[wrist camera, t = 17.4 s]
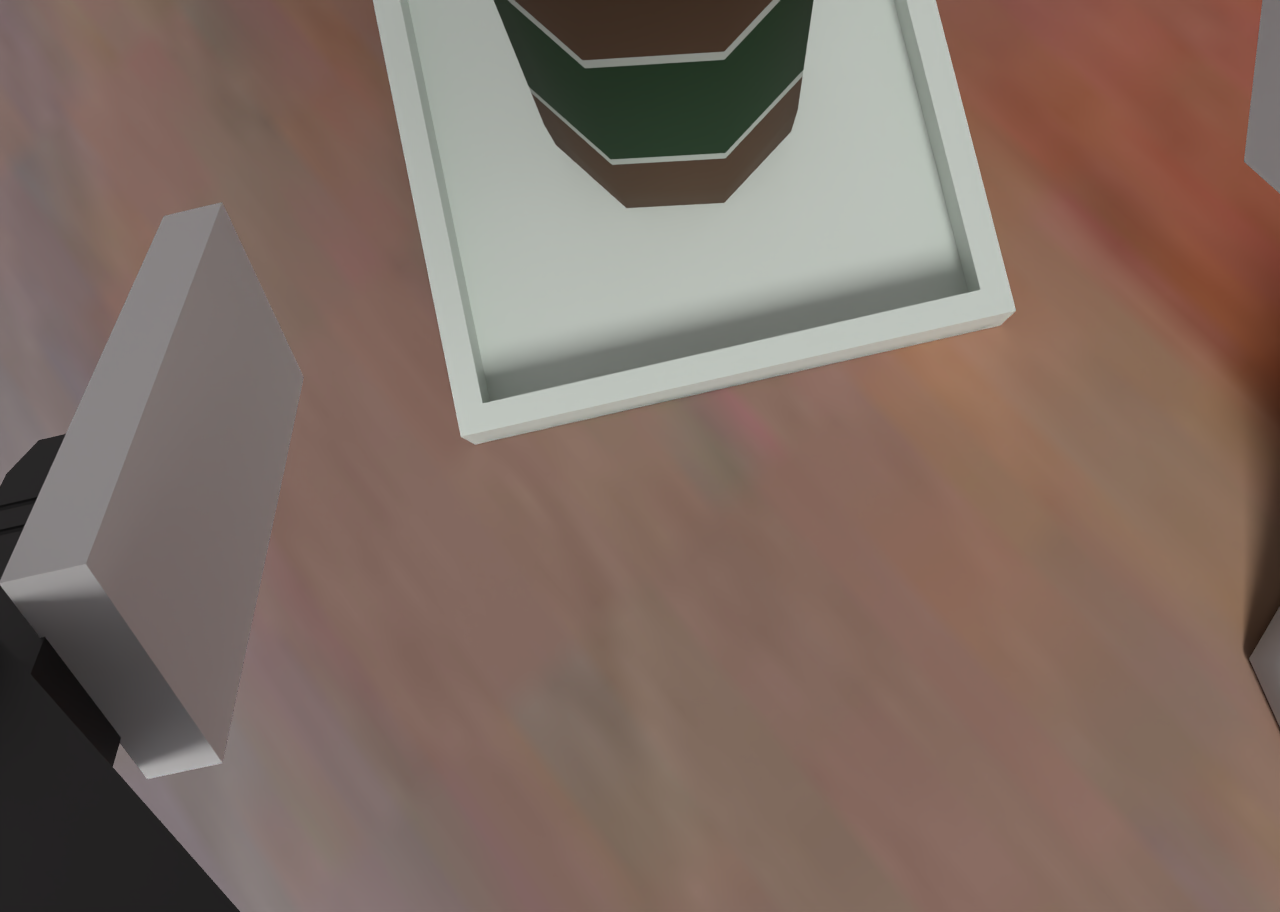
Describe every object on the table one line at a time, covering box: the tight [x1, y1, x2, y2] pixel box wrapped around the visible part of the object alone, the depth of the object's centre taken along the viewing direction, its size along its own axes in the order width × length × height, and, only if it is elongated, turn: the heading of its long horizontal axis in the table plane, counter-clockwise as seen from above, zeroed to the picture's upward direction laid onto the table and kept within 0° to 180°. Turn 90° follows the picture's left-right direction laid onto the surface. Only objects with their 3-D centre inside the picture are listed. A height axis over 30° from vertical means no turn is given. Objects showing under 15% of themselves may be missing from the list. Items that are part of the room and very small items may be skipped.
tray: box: [373, 0, 1016, 444], centre depth 37 cm, size 16×18×2 cm
